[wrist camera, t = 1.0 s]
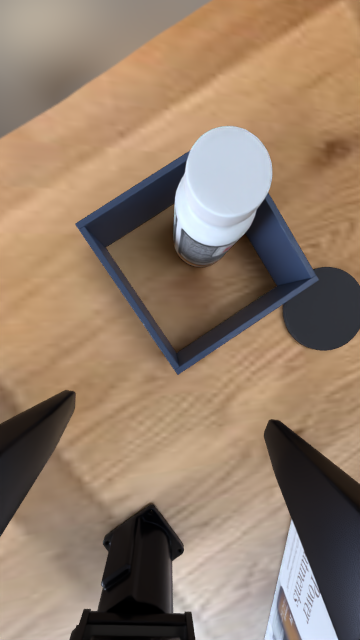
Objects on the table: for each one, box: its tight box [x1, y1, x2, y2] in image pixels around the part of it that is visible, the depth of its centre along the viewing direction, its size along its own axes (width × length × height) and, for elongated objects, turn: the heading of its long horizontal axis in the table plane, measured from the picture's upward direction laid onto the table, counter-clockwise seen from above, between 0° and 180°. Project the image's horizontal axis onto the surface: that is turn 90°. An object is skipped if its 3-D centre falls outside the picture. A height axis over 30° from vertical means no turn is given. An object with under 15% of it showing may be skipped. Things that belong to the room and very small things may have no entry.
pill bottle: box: [173, 126, 272, 267], centre depth 15 cm, size 6×6×10 cm
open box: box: [75, 151, 319, 375], centre depth 17 cm, size 14×14×5 cm
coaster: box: [283, 267, 360, 350], centre depth 21 cm, size 9×9×1 cm
